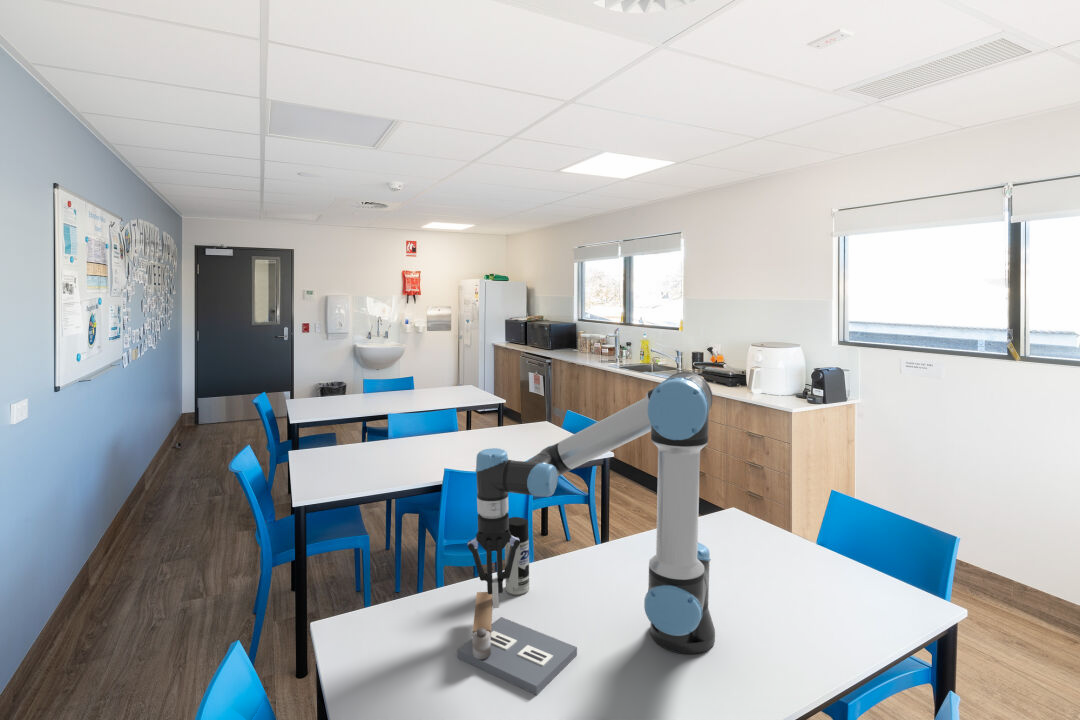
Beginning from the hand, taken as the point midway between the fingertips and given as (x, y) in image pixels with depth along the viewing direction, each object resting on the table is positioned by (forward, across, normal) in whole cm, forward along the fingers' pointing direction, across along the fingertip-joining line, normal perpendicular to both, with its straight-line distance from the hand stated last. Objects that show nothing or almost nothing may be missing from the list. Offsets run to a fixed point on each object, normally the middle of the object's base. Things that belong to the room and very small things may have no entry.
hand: (495, 605), depth 141 cm
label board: (+6, +4, -12) cm, 14 cm away
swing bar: (+3, -3, -6) cm, 7 cm away
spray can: (+6, +7, +18) cm, 20 cm away
